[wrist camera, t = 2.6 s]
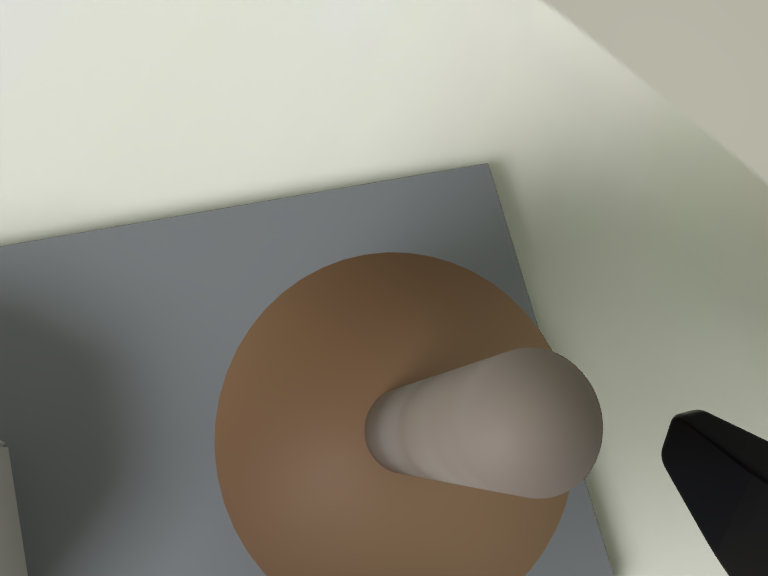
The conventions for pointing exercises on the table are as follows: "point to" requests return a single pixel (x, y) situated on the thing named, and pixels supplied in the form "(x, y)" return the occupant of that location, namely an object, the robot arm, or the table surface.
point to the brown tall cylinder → (400, 426)
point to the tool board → (194, 368)
